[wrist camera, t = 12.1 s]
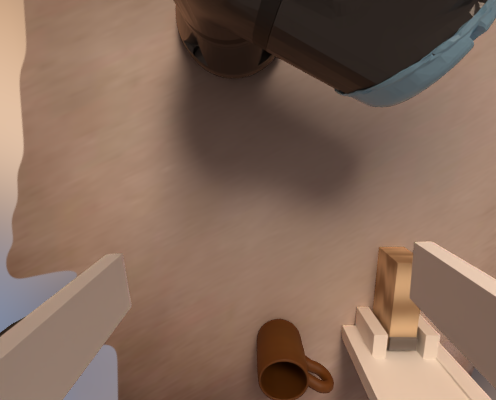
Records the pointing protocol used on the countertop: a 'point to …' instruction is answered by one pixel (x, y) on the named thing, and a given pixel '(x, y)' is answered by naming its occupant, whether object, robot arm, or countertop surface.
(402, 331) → the wooden block
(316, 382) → the mug
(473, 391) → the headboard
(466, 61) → the countertop surface
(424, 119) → the countertop surface
